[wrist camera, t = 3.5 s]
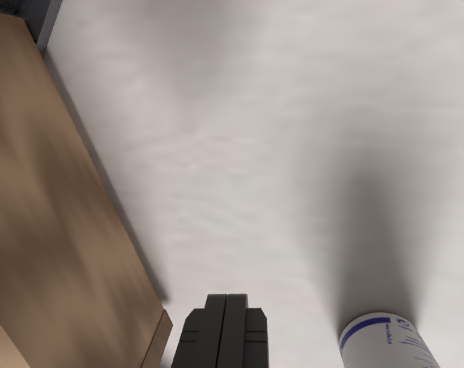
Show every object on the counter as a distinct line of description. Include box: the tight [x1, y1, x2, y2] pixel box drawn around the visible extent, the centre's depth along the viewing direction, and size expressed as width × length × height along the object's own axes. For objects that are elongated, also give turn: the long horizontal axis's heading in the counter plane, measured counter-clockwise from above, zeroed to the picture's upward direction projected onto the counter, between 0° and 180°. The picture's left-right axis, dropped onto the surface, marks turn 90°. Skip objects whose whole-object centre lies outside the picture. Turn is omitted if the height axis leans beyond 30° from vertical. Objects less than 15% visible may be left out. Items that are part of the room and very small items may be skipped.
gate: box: [0, 13, 173, 368], centre depth 14 cm, size 20×1×10 cm, turn 18°
